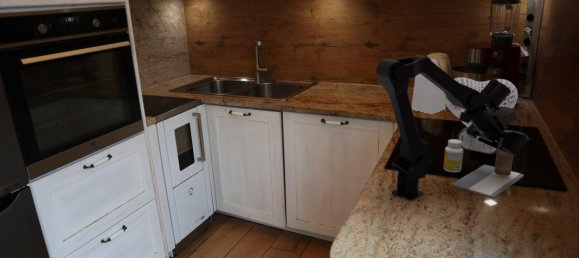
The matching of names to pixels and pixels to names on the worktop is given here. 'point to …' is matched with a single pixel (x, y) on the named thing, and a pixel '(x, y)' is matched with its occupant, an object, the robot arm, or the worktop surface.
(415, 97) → the milk
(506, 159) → the beige tapered cylinder
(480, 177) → the slate-grey panel
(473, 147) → the tin
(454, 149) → the supplement bottle
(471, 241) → the worktop surface
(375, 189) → the worktop surface
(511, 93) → the heart
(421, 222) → the worktop surface
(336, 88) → the worktop surface
